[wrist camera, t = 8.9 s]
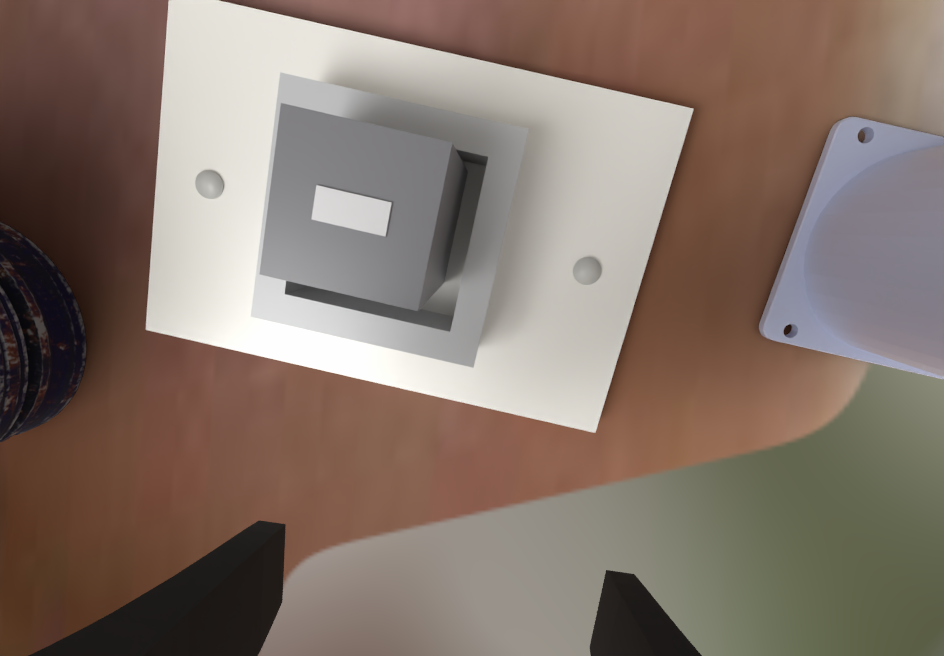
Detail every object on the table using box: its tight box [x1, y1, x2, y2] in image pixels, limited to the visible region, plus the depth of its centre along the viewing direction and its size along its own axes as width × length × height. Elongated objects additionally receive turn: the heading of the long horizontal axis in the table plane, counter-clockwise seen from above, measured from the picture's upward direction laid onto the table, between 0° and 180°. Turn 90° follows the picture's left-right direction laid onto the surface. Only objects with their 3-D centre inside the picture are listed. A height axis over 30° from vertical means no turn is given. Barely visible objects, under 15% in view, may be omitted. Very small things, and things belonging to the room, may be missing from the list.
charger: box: [259, 103, 468, 311], centre depth 14 cm, size 4×4×6 cm
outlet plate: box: [146, 0, 694, 433], centre depth 16 cm, size 18×12×4 cm, turn 78°
